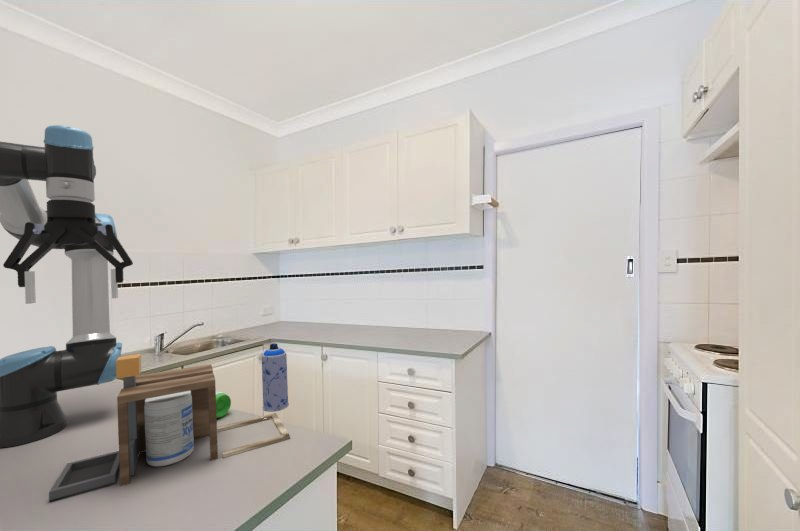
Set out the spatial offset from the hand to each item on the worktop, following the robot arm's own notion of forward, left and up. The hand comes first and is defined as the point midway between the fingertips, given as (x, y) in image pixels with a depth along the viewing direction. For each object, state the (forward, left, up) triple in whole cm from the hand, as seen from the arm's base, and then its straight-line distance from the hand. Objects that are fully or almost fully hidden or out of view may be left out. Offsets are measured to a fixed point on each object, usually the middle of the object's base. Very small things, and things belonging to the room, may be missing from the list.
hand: (74, 300), depth 74 cm
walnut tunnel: (0, +17, -39) cm, 42 cm away
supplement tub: (0, +16, -39) cm, 42 cm away
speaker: (-24, +23, -39) cm, 51 cm away
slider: (0, +9, -39) cm, 40 cm away
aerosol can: (-16, +44, -39) cm, 60 cm away
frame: (0, +34, -39) cm, 52 cm away
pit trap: (0, +2, -39) cm, 39 cm away
